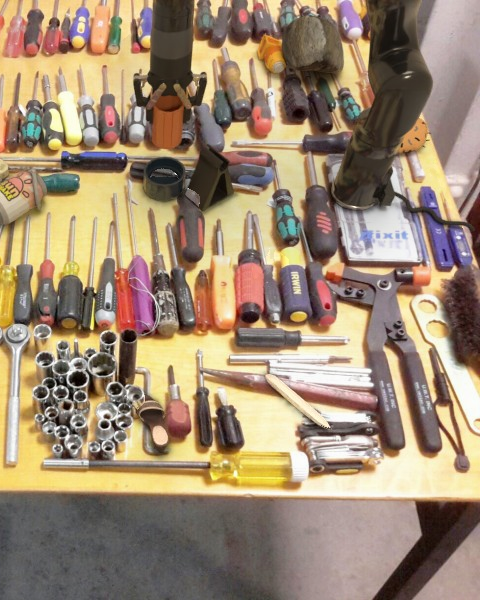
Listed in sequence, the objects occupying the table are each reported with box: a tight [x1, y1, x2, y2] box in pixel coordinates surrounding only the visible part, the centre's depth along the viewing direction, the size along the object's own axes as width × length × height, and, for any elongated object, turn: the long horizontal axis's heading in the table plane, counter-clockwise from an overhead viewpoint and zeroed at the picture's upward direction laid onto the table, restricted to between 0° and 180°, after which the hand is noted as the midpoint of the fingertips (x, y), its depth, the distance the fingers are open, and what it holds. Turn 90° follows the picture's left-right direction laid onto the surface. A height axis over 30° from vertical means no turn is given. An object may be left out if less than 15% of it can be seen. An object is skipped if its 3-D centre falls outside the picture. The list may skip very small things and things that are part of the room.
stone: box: [281, 14, 345, 74], centre depth 155 cm, size 12×15×15 cm
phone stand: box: [186, 143, 235, 212], centre depth 133 cm, size 9×6×12 cm, turn 123°
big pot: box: [142, 156, 187, 202], centre depth 138 cm, size 9×9×5 cm
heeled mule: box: [136, 393, 170, 453], centre depth 106 cm, size 4×11×4 cm, turn 13°
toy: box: [397, 117, 432, 154], centre depth 141 cm, size 12×10×5 cm
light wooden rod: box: [264, 373, 331, 429], centre depth 108 cm, size 2×14×2 cm, turn 39°
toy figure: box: [256, 34, 288, 74], centre depth 160 cm, size 5×6×12 cm
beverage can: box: [0, 167, 48, 226], centre depth 136 cm, size 9×8×12 cm
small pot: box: [151, 95, 184, 150], centre depth 125 cm, size 6×6×9 cm
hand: (167, 120), depth 125 cm, fingers closed on small pot, 6 cm apart
